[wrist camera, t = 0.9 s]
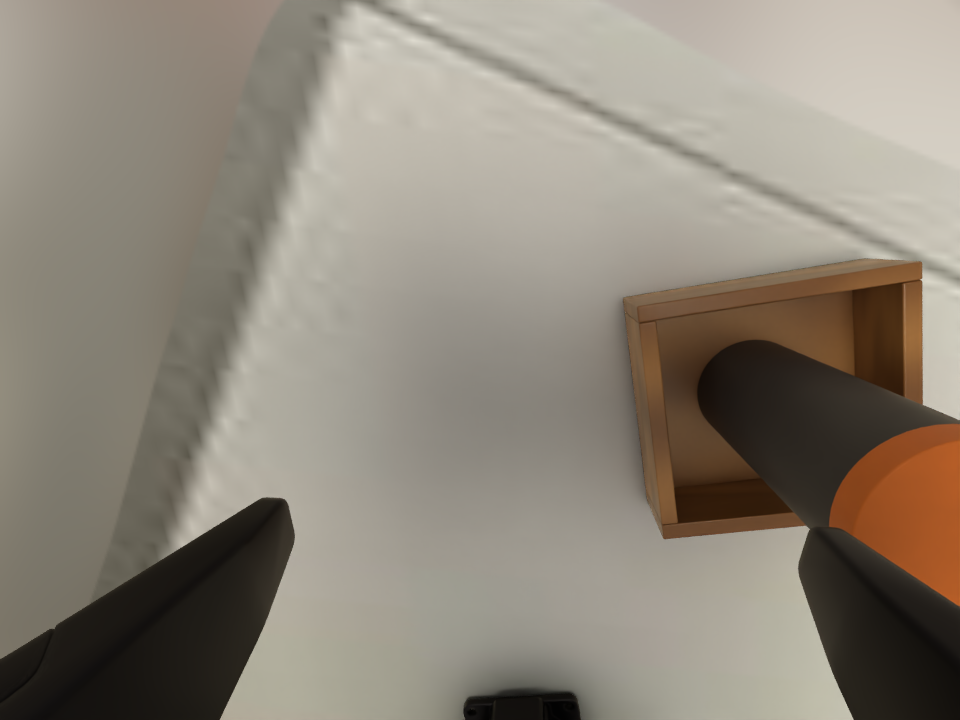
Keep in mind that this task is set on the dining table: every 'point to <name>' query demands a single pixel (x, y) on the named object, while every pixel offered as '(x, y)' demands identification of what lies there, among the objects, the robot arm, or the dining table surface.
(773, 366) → the tube
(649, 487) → the box
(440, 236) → the dining table surface
